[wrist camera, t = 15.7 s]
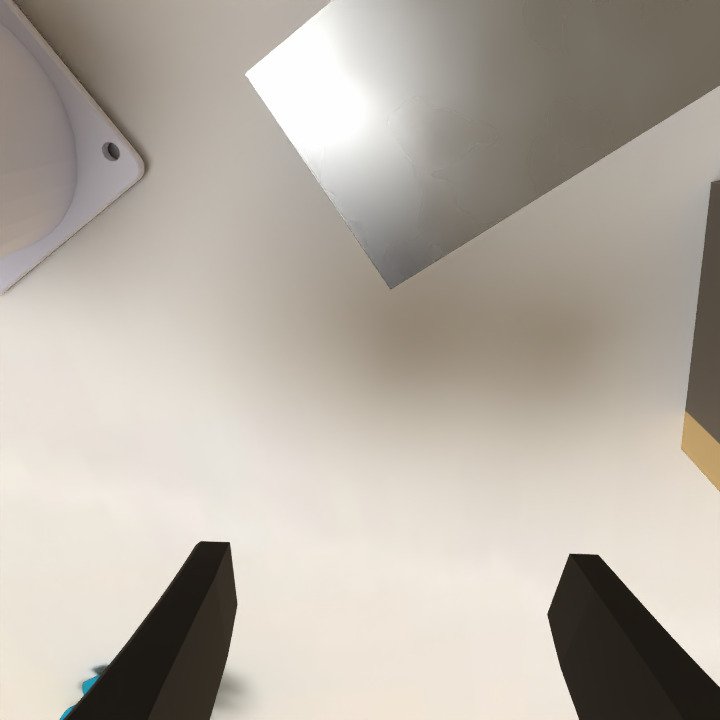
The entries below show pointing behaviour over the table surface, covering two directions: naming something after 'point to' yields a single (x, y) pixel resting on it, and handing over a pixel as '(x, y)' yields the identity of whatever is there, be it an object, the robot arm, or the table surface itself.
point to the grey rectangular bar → (706, 357)
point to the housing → (474, 105)
